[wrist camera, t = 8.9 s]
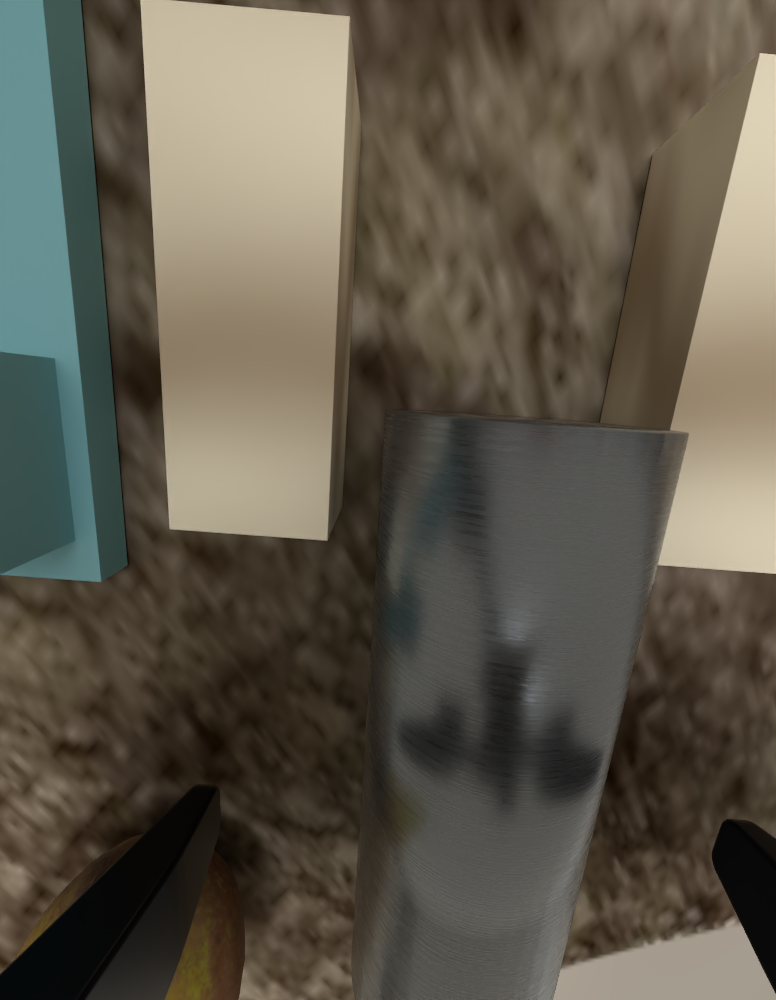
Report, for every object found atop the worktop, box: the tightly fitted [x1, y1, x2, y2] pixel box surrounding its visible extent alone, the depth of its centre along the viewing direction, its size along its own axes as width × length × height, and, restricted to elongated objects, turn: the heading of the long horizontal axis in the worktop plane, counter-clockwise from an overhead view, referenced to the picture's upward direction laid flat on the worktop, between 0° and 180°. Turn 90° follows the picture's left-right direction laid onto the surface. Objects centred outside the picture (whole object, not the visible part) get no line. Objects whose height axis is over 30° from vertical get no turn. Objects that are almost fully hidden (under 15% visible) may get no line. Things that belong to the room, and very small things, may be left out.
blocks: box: [140, 0, 776, 574], centre depth 8 cm, size 8×12×2 cm, turn 86°
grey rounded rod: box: [351, 410, 689, 1000], centre depth 9 cm, size 14×5×5 cm, turn 176°
